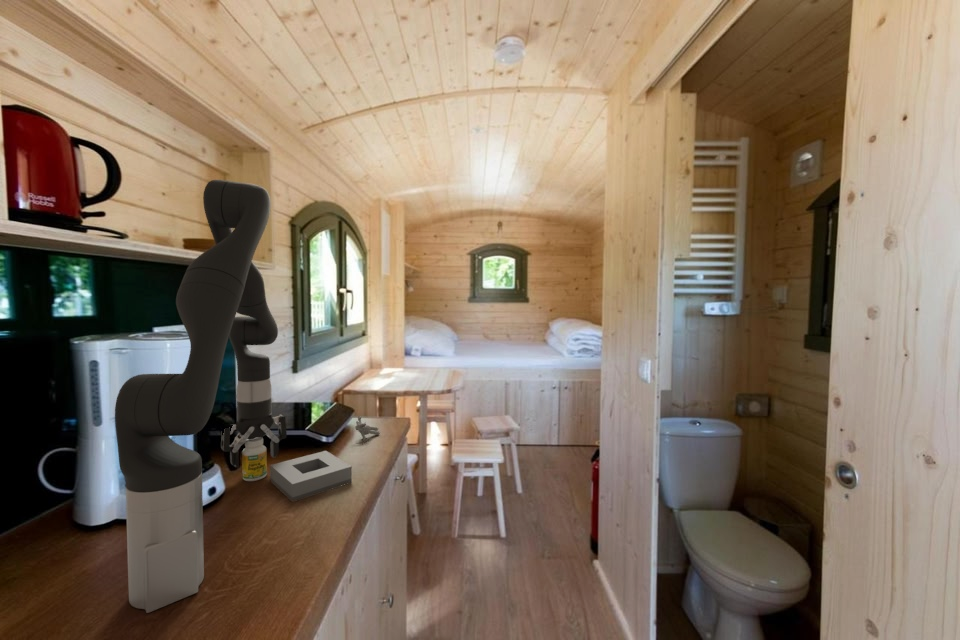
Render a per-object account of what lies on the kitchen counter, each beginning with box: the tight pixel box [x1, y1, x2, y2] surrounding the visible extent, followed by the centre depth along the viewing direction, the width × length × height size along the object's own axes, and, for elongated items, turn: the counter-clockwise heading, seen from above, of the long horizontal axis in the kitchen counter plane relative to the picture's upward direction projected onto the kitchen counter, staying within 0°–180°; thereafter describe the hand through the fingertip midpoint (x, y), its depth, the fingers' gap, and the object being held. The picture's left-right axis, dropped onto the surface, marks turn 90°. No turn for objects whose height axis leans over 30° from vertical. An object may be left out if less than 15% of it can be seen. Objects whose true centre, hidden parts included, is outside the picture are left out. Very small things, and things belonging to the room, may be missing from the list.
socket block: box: [269, 450, 353, 503], centre depth 100 cm, size 14×14×4 cm
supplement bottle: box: [241, 437, 268, 482], centre depth 102 cm, size 5×5×10 cm
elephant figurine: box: [355, 415, 381, 443], centre depth 132 cm, size 10×6×9 cm
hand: (255, 461), depth 102 cm, fingers open, 8 cm apart
